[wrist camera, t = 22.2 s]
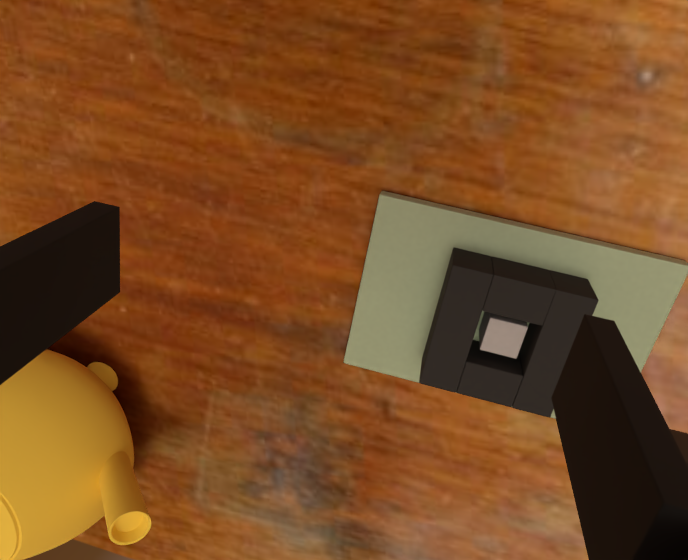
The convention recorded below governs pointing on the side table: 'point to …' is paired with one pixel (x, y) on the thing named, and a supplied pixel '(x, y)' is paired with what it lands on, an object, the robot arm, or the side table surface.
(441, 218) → the base mat
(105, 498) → the teapot
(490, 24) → the side table surface
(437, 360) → the dark square frame
